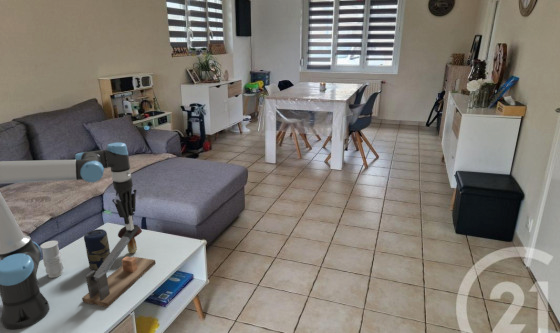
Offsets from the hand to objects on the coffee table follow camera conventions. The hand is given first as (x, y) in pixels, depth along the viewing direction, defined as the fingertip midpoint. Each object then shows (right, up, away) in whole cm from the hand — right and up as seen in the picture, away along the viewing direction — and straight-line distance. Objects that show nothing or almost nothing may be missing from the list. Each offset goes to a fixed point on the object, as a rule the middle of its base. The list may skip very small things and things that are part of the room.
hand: (130, 229), depth 163 cm
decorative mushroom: (-7, -15, +21) cm, 27 cm away
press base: (-2, -22, -2) cm, 23 cm away
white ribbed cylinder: (-35, -21, +4) cm, 41 cm away
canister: (-18, -19, +10) cm, 28 cm away
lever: (-3, -9, -7) cm, 12 cm away
